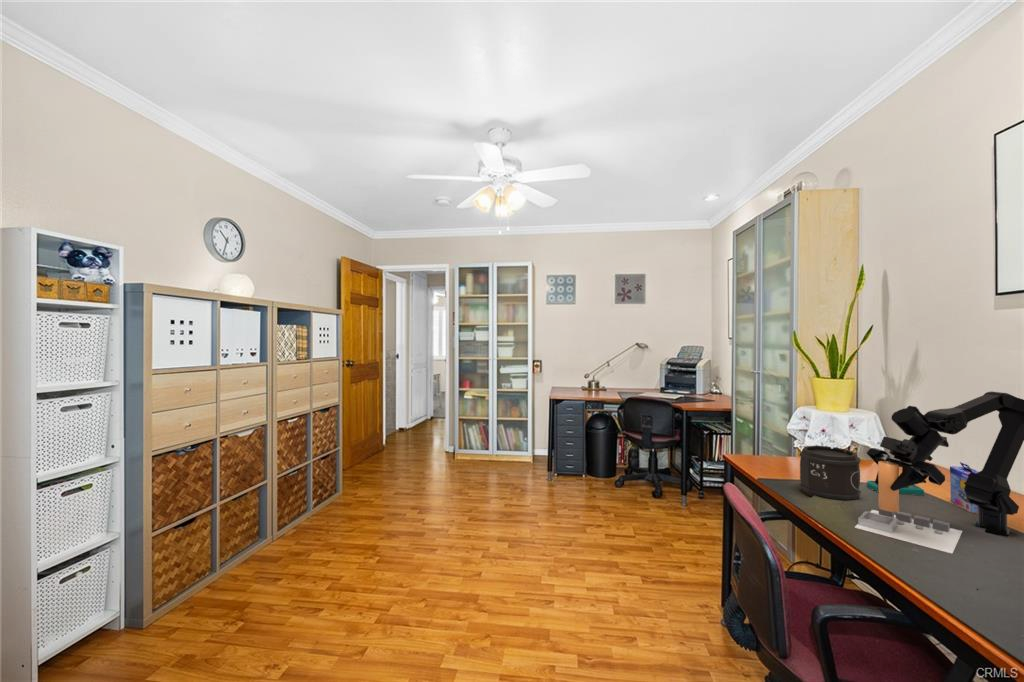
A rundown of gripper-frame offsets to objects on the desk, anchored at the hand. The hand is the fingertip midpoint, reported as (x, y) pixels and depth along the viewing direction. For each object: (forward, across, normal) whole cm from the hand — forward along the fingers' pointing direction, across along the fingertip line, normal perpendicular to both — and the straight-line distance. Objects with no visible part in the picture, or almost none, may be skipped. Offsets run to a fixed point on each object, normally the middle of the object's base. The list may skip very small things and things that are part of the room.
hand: (883, 486), depth 124 cm
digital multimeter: (-15, -32, +35) cm, 50 cm away
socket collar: (+8, -3, +10) cm, 13 cm away
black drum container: (+3, -31, +16) cm, 35 cm away
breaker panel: (+5, 0, +14) cm, 15 cm away
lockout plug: (+4, 0, +6) cm, 7 cm away
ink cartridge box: (-22, -15, +41) cm, 49 cm away
